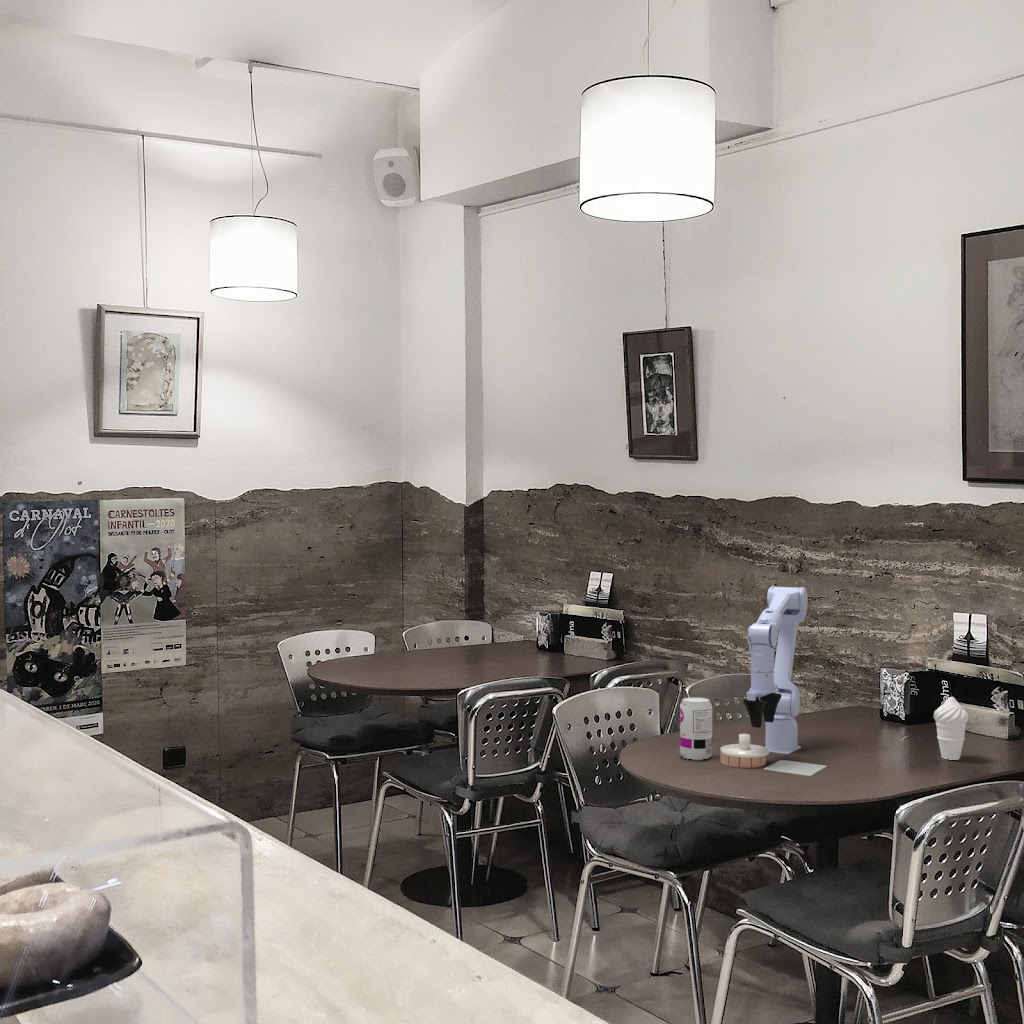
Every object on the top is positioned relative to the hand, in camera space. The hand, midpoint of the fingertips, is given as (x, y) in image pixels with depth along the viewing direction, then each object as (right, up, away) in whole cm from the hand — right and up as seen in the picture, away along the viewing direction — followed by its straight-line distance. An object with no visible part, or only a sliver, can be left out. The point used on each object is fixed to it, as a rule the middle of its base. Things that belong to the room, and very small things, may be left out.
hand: (762, 724), depth 293 cm
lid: (-5, -7, -1) cm, 8 cm away
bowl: (-5, -10, 0) cm, 11 cm away
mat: (+7, -10, -6) cm, 14 cm away
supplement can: (-16, -10, +7) cm, 20 cm away
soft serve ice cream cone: (+49, -10, +3) cm, 50 cm away
